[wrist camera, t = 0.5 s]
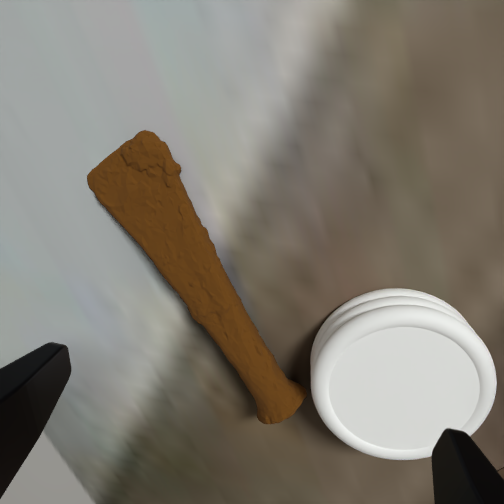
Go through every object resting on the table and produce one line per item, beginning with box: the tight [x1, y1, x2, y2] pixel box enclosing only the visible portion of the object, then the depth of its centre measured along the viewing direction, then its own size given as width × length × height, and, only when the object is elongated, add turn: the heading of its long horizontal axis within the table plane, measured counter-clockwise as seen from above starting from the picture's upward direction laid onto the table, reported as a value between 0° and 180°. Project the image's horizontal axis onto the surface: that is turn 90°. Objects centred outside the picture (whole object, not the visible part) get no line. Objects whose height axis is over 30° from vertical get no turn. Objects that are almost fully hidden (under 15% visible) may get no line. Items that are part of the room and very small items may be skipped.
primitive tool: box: [87, 130, 307, 424], centre depth 24 cm, size 19×6×4 cm, turn 36°
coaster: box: [310, 288, 497, 460], centre depth 24 cm, size 10×10×4 cm
